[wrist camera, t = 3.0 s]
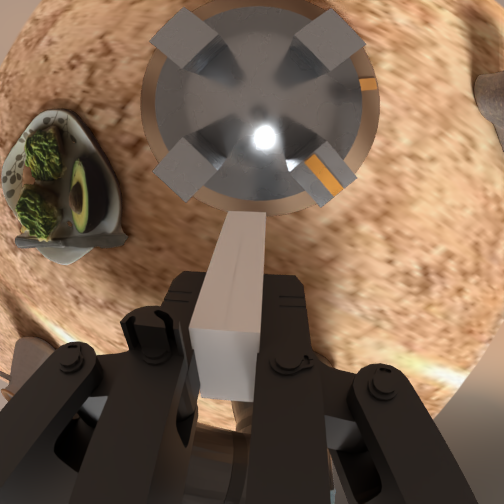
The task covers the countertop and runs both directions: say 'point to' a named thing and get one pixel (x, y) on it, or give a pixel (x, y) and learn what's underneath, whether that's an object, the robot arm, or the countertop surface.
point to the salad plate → (63, 189)
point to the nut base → (300, 201)
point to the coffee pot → (25, 363)
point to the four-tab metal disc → (257, 103)
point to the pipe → (491, 100)
